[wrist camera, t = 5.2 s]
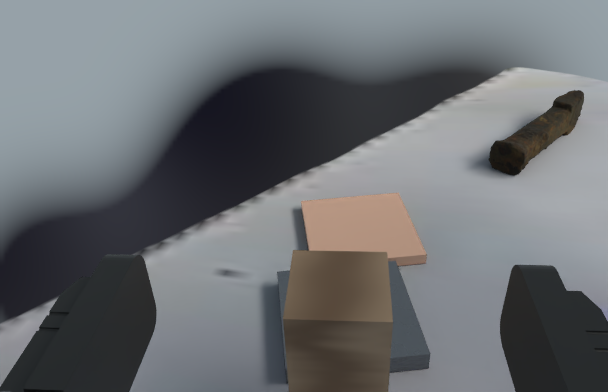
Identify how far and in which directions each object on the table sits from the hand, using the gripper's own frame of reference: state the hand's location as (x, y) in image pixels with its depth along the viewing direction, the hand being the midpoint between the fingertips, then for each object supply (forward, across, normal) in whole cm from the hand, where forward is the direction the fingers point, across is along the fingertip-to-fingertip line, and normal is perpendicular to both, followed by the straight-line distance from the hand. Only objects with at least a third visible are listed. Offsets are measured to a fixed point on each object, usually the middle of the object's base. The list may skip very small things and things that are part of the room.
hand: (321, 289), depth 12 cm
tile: (+32, -2, +23) cm, 40 cm away
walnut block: (+11, 0, +23) cm, 25 cm away
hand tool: (+51, -23, +23) cm, 61 cm away
